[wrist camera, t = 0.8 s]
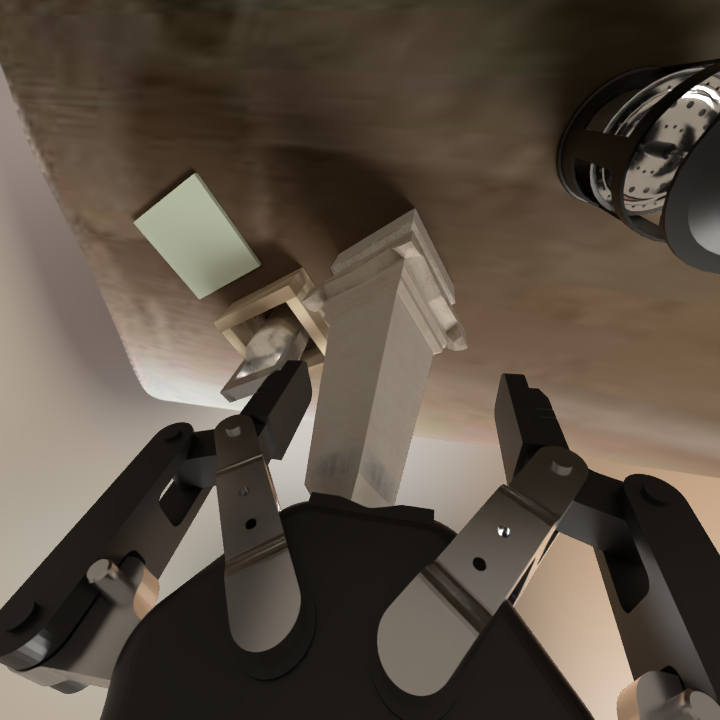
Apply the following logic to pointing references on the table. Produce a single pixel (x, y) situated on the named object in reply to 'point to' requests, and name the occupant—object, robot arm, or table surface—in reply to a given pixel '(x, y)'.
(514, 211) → the table surface
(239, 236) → the mat
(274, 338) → the pail
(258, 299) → the holder
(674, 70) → the french press
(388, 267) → the miniature monument
